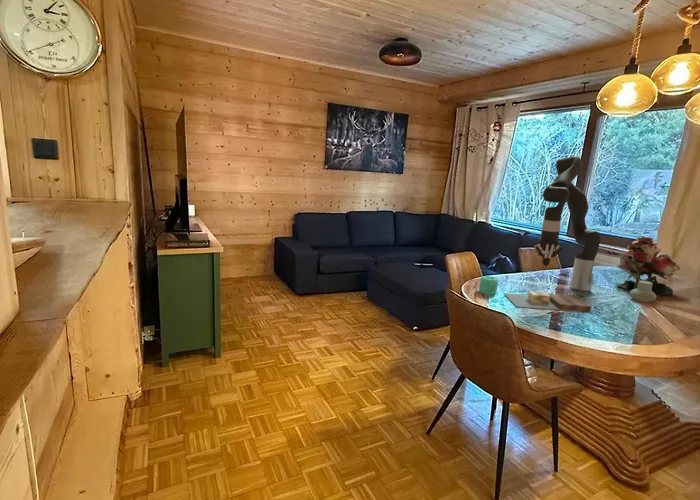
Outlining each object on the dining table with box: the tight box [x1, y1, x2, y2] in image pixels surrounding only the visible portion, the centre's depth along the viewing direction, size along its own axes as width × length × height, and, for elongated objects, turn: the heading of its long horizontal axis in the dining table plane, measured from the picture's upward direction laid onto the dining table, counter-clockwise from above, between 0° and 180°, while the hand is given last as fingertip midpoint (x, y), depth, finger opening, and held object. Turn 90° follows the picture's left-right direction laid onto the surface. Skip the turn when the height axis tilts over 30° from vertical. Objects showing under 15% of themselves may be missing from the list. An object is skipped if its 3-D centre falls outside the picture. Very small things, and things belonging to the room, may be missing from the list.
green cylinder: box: [478, 275, 499, 296], centre depth 204 cm, size 8×8×8 cm
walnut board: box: [547, 293, 592, 312], centre depth 191 cm, size 14×16×2 cm
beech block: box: [527, 290, 550, 304], centre depth 192 cm, size 8×6×4 cm
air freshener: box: [629, 281, 657, 304], centre depth 202 cm, size 11×8×10 cm
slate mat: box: [504, 293, 561, 311], centre depth 193 cm, size 20×19×1 cm
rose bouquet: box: [615, 236, 681, 296], centre depth 222 cm, size 26×29×30 cm
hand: (545, 265), depth 188 cm, fingers closed
